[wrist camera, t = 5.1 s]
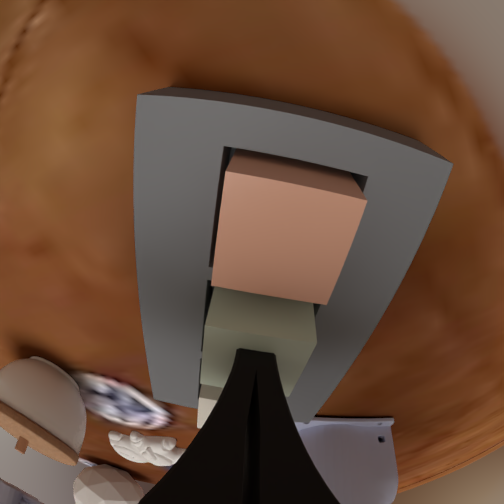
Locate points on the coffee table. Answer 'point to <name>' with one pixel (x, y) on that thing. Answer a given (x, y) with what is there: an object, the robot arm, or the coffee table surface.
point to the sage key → (257, 334)
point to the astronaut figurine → (146, 448)
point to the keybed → (207, 218)
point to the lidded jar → (42, 409)
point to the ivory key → (207, 402)
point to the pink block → (285, 226)
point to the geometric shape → (106, 486)
